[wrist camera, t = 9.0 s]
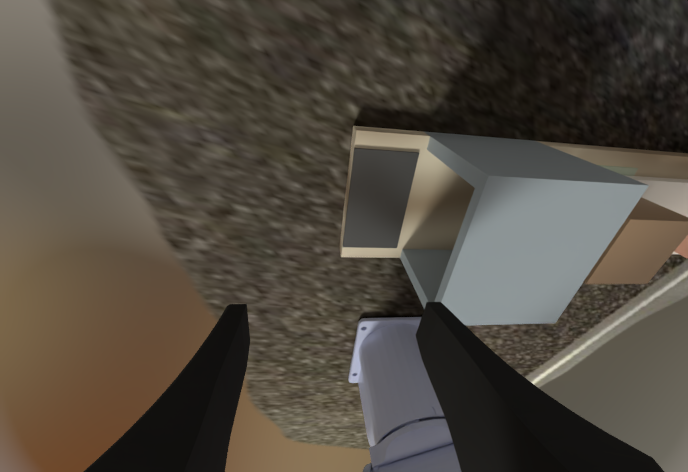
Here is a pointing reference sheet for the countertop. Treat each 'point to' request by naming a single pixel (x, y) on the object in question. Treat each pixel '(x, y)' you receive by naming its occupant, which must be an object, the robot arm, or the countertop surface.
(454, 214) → the board
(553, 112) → the countertop surface
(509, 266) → the tunnel
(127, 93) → the countertop surface
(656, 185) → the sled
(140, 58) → the countertop surface
